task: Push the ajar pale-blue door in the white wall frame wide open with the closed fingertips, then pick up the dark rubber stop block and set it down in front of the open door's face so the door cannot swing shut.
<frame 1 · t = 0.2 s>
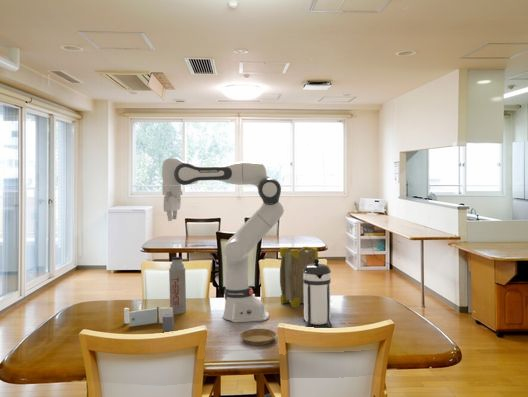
hand: (172, 220, 206), 48 cm above the table, fingers open, 8 cm apart
stop block: (168, 331, 187), on the table
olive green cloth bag: (299, 302, 231), on the table
thermos bottle: (178, 312, 216), on the table
door: (143, 317, 196), point 4 cm above the table, hinge at 25.0°
coffee press: (315, 323, 196), on the table
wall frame: (149, 322, 200), on the table
plant saucer: (258, 341, 175), on the table
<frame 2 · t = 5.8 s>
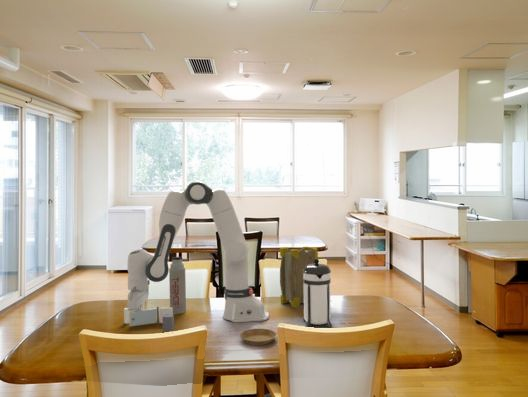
hand: (138, 314, 198), 5 cm above the table, fingers closed
door: (143, 317, 196), point 4 cm above the table, hinge at 25.0°, touching gripper
everything else where it was.
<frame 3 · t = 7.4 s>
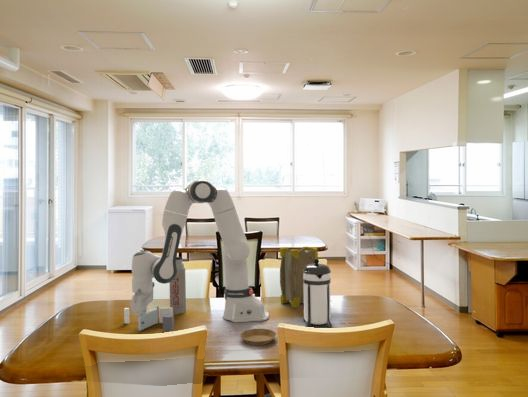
hand: (142, 317, 193), 5 cm above the table, fingers closed
door: (149, 319, 193), point 4 cm above the table, hinge at 65.1°, touching gripper
everything else where it was.
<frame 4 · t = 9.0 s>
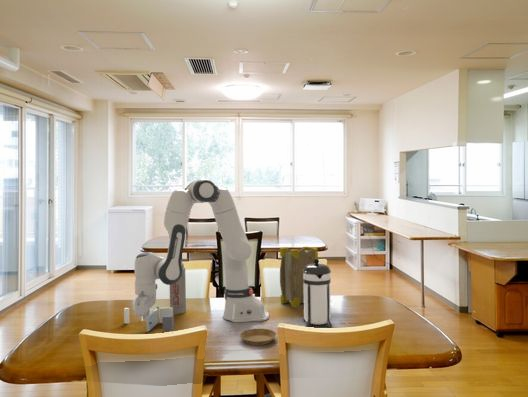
hand: (145, 320, 189), 5 cm above the table, fingers closed
door: (153, 319, 193), point 4 cm above the table, hinge at 84.2°, touching gripper
everything else where it was.
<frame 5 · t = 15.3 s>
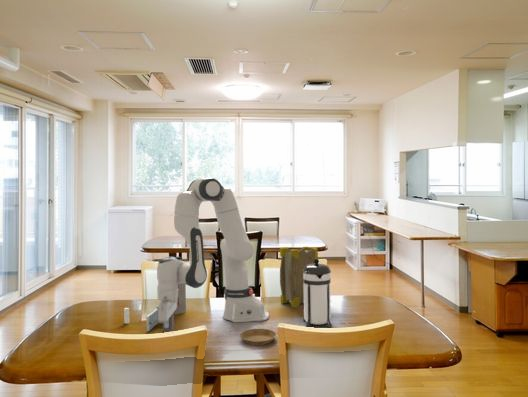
hand: (168, 325, 187), 3 cm above the table, fingers closed on stop block, 4 cm apart
stop block: (168, 331, 187), on the table, touching gripper
door: (153, 319, 193), point 4 cm above the table, hinge at 84.3°
everything else where it was.
when the fingers open (4 cm above the table, at t = 20.9 s): stop block stays where it is, on the table.
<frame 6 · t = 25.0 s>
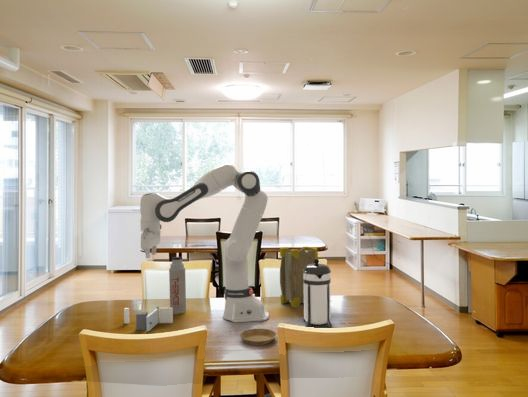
hand: (150, 256, 201), 31 cm above the table, fingers open, 8 cm apart
stop block: (142, 328, 192), on the table
everything else where it was.
at the end: door at +84° (first picture: +25°); stop block 0.0 cm from the target spot, on the table; the gripper is holding nothing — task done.
